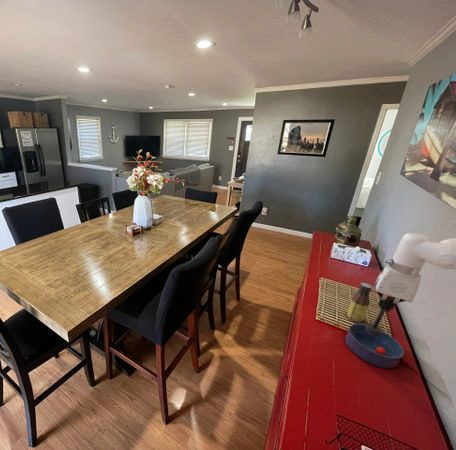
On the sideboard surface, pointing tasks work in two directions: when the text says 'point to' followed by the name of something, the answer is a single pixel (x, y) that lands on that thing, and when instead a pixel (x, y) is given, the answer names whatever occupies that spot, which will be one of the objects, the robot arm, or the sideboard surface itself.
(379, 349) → the tomato
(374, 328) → the dark grey rod
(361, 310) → the sauce bottle
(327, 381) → the sideboard surface
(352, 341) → the bowl
